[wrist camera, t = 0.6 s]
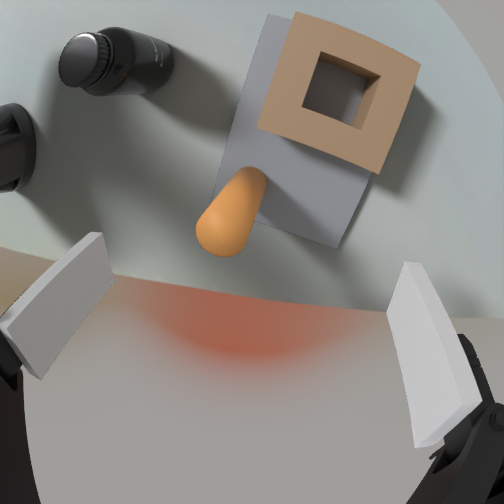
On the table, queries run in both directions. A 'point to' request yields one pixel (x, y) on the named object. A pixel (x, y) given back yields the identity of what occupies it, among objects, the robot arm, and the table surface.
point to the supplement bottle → (115, 62)
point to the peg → (232, 213)
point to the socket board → (290, 162)
